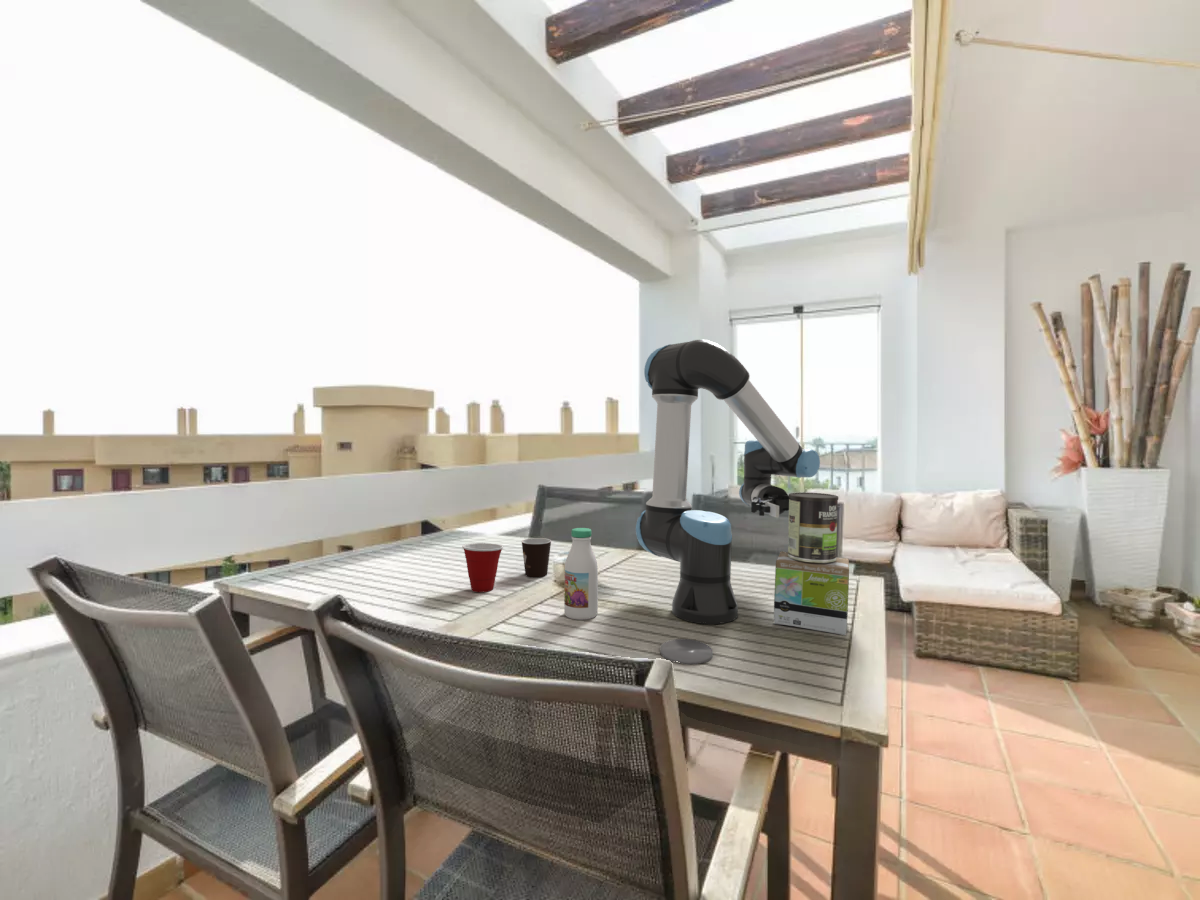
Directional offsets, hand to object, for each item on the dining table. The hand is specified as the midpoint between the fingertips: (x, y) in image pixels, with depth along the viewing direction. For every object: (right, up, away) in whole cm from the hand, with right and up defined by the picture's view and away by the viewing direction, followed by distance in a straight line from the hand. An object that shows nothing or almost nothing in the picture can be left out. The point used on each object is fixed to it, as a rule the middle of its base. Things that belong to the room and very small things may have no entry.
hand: (806, 511), depth 125 cm
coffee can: (0, -10, -4) cm, 11 cm away
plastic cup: (-79, -23, +20) cm, 85 cm away
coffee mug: (-66, -23, +37) cm, 79 cm away
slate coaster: (-31, -25, -20) cm, 45 cm away
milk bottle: (-52, -24, +1) cm, 57 cm away
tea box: (0, -25, -3) cm, 25 cm away
